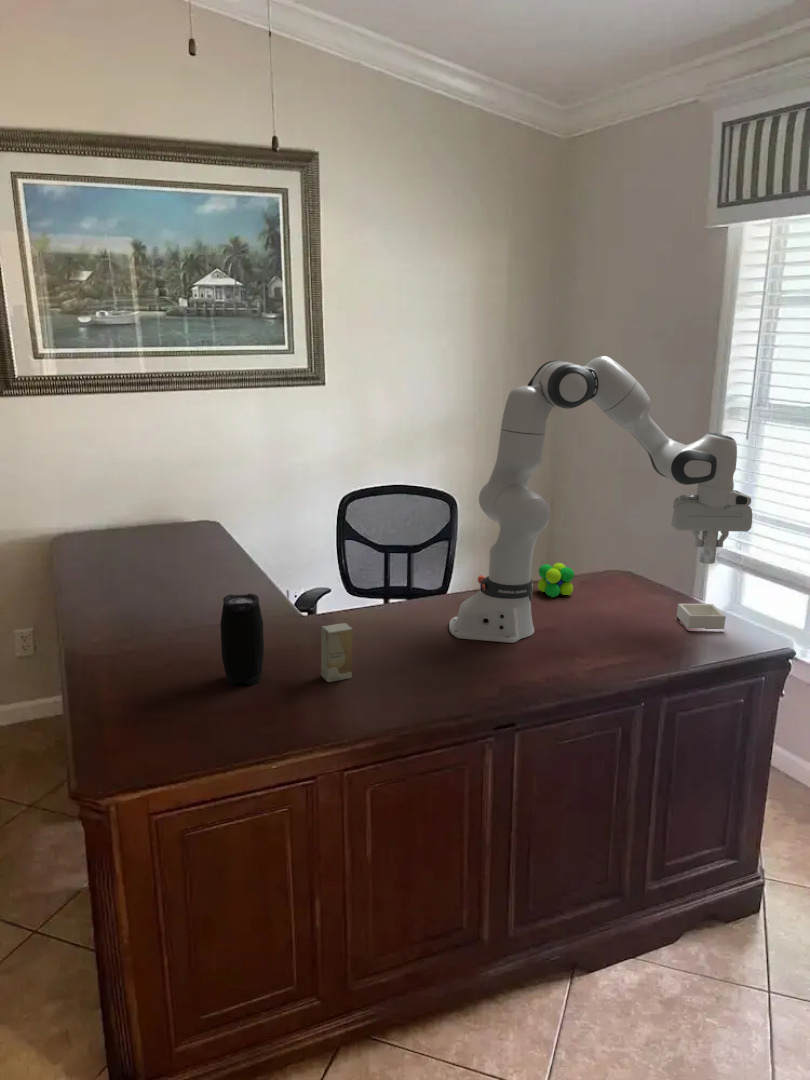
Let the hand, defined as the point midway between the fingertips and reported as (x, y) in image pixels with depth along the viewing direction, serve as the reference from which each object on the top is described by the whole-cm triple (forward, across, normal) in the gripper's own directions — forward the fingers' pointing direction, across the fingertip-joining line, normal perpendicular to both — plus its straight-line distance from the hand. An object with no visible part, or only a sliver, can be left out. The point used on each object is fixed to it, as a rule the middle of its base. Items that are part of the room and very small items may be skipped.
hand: (708, 546), depth 228 cm
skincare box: (+22, -96, -36) cm, 105 cm away
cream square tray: (+22, 0, 0) cm, 22 cm away
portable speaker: (+22, -117, -38) cm, 125 cm away
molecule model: (+22, -35, +25) cm, 49 cm away
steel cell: (+4, 0, 0) cm, 4 cm away
